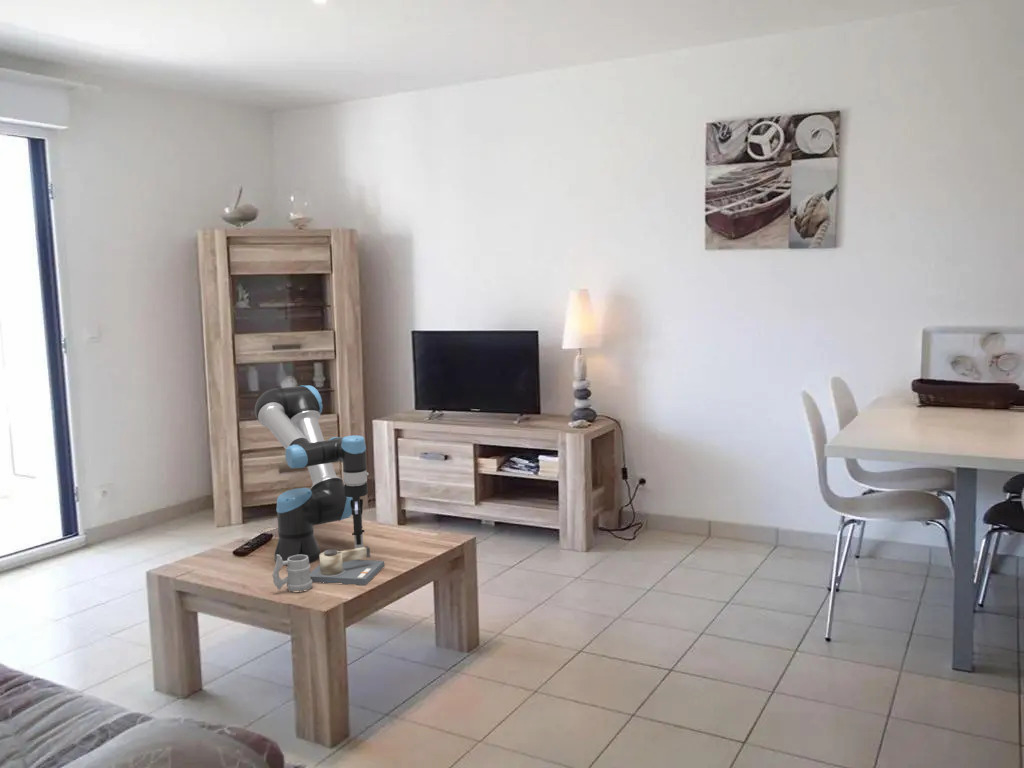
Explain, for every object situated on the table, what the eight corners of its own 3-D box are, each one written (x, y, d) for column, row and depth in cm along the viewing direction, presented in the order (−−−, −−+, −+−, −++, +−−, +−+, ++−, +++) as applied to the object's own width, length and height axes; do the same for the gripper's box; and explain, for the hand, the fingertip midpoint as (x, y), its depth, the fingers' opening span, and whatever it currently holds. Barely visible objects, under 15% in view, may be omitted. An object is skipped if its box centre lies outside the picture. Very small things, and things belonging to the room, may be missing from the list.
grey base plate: (305, 582, 267) (305, 574, 266) (327, 564, 283) (327, 557, 283) (365, 585, 263) (365, 577, 262) (384, 566, 279) (384, 559, 279)
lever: (324, 576, 265) (322, 556, 264) (317, 570, 271) (316, 550, 270) (372, 567, 272) (371, 547, 271) (365, 561, 278) (364, 541, 278)
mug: (315, 589, 260) (313, 552, 259) (276, 597, 255) (274, 559, 253) (308, 582, 267) (306, 545, 265) (270, 590, 261) (268, 552, 260)
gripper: (366, 487, 271) (370, 558, 274) (367, 477, 284) (371, 546, 287) (343, 488, 270) (347, 560, 273) (344, 479, 283) (348, 547, 286)
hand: (359, 552), depth 280 cm, fingers closed
